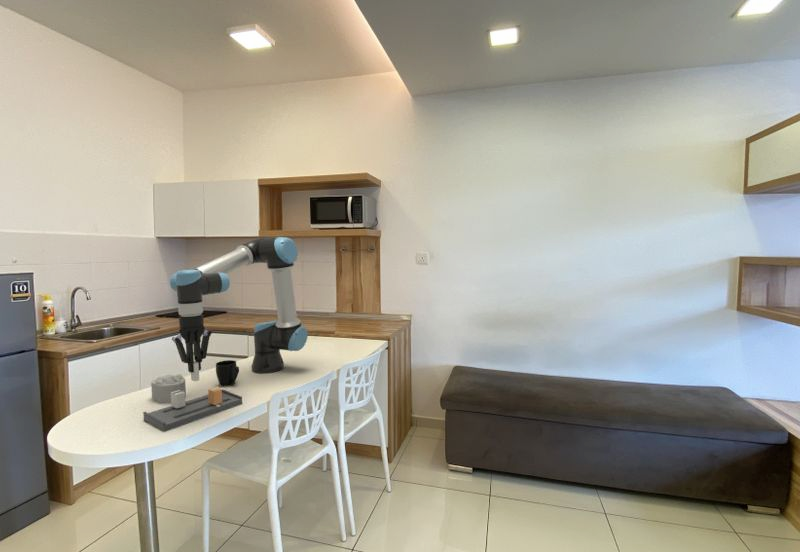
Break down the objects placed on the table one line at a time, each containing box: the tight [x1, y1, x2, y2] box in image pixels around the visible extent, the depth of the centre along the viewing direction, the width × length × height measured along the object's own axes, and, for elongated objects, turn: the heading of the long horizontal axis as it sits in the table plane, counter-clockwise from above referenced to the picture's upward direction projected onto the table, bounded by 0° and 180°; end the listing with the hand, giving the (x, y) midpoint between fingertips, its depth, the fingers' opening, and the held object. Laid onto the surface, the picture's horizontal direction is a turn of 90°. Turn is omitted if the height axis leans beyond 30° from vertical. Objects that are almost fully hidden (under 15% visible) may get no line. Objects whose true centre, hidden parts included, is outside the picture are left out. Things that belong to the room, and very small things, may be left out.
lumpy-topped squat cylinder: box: [150, 373, 187, 405], centre depth 156 cm, size 10×13×9 cm
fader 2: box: [207, 386, 223, 405], centre depth 145 cm, size 3×4×5 cm
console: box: [142, 388, 243, 433], centre depth 143 cm, size 28×15×3 cm, turn 145°
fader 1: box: [170, 390, 186, 408], centre depth 142 cm, size 3×4×5 cm
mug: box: [215, 359, 240, 387], centre depth 171 cm, size 8×12×10 cm
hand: (195, 380), depth 139 cm, fingers closed
